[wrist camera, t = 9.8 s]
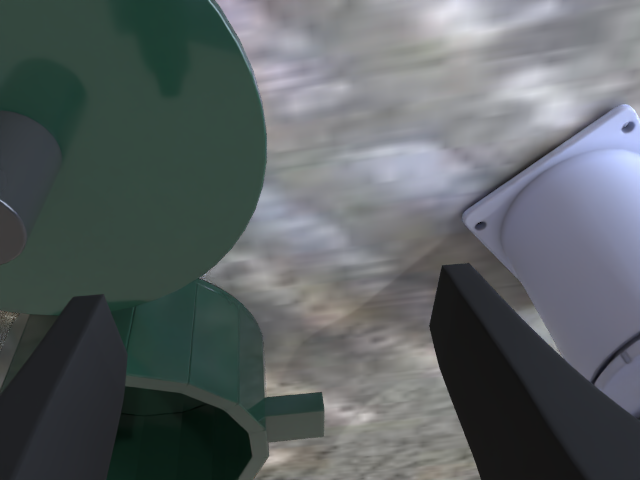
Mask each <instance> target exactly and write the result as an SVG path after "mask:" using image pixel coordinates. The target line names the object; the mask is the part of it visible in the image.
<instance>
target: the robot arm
mask: <svg viewBox="0 0 640 480" xmlns="http://www.w3.org/2000/svg"><path fill="white" fill-rule="evenodd" d="M628 122H629V123H628ZM626 123H628V125H627V126H626V127H624V128H622V127H623V126H624V125H625V124H626ZM462 220H463V222H464V224H465V226H466V227H467V228H468V229H469V230H470V231H471V232H472V233H473V234H474V235H475V236H476V237H477V238H478V239H479V240H480V241H481V242H482V243H483V244H484V245H485V246H486V247H487V248H488V249H489V250H490V251H491V252H492V253H493V254H494V255H495V256H496V257H497V258H498V259H499V260H500V261H501V262H502V263H503V264H504V265H505V267H506V268H507V269H508V270H509V271H510V272H511V273H512V274H513V275H514V276H515V277H516V278H517V279H518V280H519V281H520V282H521V283H522V284H523V286H524V288H525V290H526V292H527V293H528V295H529V297H530V299H531V301H532V302H533V304H534V306H535V308H536V310H537V311H538V313H539V315H540V317H541V319H542V320H543V322H544V324H545V326H546V328H547V329H548V331H549V333H550V335H551V337H552V338H553V340H554V342H555V344H556V346H557V347H558V349H559V351H560V353H561V355H562V356H563V358H564V359H563V358H562V357H561V356H560V355H559V354H558V353H557V352H556V351H555V350H554V349H553V348H551V347H550V346H549V345H548V344H547V343H546V342H545V341H544V340H543V339H542V338H541V337H540V336H539V335H538V334H537V333H536V332H535V331H534V330H533V329H532V328H531V327H530V326H529V325H528V324H527V323H526V322H525V321H524V320H523V319H522V318H521V317H520V316H519V315H518V314H517V313H516V312H515V311H514V310H513V309H512V308H511V307H510V306H509V305H508V304H507V303H506V302H505V301H504V300H503V299H502V297H501V296H500V295H499V294H498V293H497V292H496V291H495V290H494V289H493V288H492V287H491V286H490V285H489V284H488V283H487V281H486V280H485V279H484V278H483V277H482V276H481V275H480V274H479V273H478V272H477V271H476V270H475V269H474V268H473V267H472V266H471V265H470V264H469V263H465V264H454V265H442V268H441V272H440V277H439V282H438V287H437V291H436V296H435V301H434V306H433V310H432V315H431V320H430V325H429V327H430V331H431V336H432V340H433V344H434V348H435V352H436V356H437V360H438V364H439V368H440V370H441V373H442V376H443V379H444V381H445V384H446V387H447V389H448V392H449V395H450V397H451V400H452V402H453V405H454V408H455V410H456V413H457V415H458V418H459V421H460V423H461V426H462V428H463V431H464V434H465V436H466V439H467V441H468V444H469V447H470V449H471V452H472V454H473V457H474V460H475V463H476V466H477V469H478V471H479V474H480V477H481V480H640V119H639V117H638V115H637V114H636V112H635V110H634V109H632V108H631V107H630V106H629V105H625V104H623V105H619V106H617V107H615V108H614V109H612V110H611V111H609V112H608V113H606V114H605V115H603V116H602V117H601V118H599V119H598V120H596V121H595V122H593V123H592V124H590V125H589V126H587V127H586V128H585V129H583V130H582V131H580V132H579V133H577V134H576V135H574V136H573V137H572V138H570V139H569V140H567V141H566V142H564V143H563V144H561V145H560V146H558V147H557V148H556V149H554V150H553V151H551V152H550V153H548V154H547V155H545V156H544V157H542V158H541V159H540V160H538V161H537V162H535V163H534V164H532V165H531V166H529V167H528V168H527V169H525V170H524V171H522V172H521V173H519V174H518V175H516V176H515V177H513V178H512V179H511V180H509V181H508V182H506V183H505V184H503V185H502V186H500V187H499V188H497V189H496V190H495V191H493V192H492V193H490V194H489V195H487V196H486V197H484V198H483V199H482V200H480V201H479V202H477V203H476V204H474V205H473V206H471V207H470V208H468V209H467V210H466V211H465V212H464V213H463V215H462ZM479 222H482V223H481V224H479V225H476V224H477V223H479ZM127 357H128V354H127V351H126V349H125V346H124V344H123V341H122V339H121V336H120V334H119V331H118V329H117V326H116V324H115V321H114V319H113V316H112V314H111V311H110V309H109V306H108V304H107V301H106V299H105V296H104V294H99V295H87V296H76V297H73V298H72V299H71V300H70V301H69V302H68V304H67V305H66V307H65V308H64V309H63V311H62V312H61V314H60V315H59V316H58V318H57V319H56V321H55V322H54V323H53V325H52V326H51V328H50V329H49V330H48V332H47V333H46V335H45V336H44V337H43V339H42V340H41V342H40V343H39V344H38V346H37V347H36V348H35V350H34V351H33V353H32V354H31V355H30V357H29V358H28V359H27V361H26V362H25V363H24V365H23V366H22V367H21V368H20V370H19V371H18V372H17V374H16V375H15V376H14V378H13V379H12V380H11V382H10V383H9V384H8V385H7V387H6V388H5V389H4V391H3V392H2V393H1V394H0V480H106V479H107V474H108V470H109V465H110V461H111V456H112V452H113V447H114V443H115V438H116V434H117V429H118V424H119V420H120V415H121V410H122V405H123V400H124V391H125V381H126V369H127Z"/></svg>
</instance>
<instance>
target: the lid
mask: <svg viewBox="0 0 640 480" xmlns="http://www.w3.org/2000/svg"><path fill="white" fill-rule="evenodd" d="M266 163H267V133H266V124H265V117H264V110H263V104H262V99H261V95H260V92H259V88H258V85H257V82H256V78H255V75H254V71H253V69H252V67H251V64H250V62H249V60H248V58H247V55H246V53H245V51H244V49H243V46H242V44H241V42H240V39H239V38H238V36H237V34H236V33H235V31H234V29H233V28H232V26H231V24H230V23H229V21H228V20H227V18H226V16H225V15H224V13H223V11H222V10H221V8H220V6H219V5H218V4H217V3H216V1H215V0H0V310H1V311H6V312H14V313H23V314H31V315H50V316H59V315H60V314H61V312H62V311H63V309H64V308H65V307H66V305H67V304H68V302H69V301H70V300H71V299H72V298H73V297H76V296H87V295H99V294H104V296H105V299H106V301H107V304H108V306H109V309H110V311H111V312H113V311H118V310H122V309H127V308H131V307H136V306H139V305H142V304H145V303H148V302H151V301H154V300H157V299H160V298H162V297H164V296H167V295H169V294H171V293H173V292H175V291H178V290H180V289H181V288H183V287H185V286H186V285H188V284H190V283H191V282H193V281H195V280H196V279H198V278H200V277H201V276H202V275H203V274H205V273H206V272H207V271H208V270H210V269H211V268H212V267H214V266H215V265H216V264H217V263H218V262H219V261H220V260H221V259H222V258H223V257H224V256H225V255H226V254H227V253H228V252H229V251H230V250H231V249H232V247H233V246H234V244H235V243H236V242H237V240H238V239H239V237H240V236H241V235H242V233H243V232H244V231H245V229H246V227H247V225H248V223H249V221H250V219H251V217H252V215H253V213H254V211H255V209H256V206H257V203H258V200H259V197H260V194H261V191H262V187H263V182H264V175H265V169H266Z"/></svg>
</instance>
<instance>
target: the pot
mask: <svg viewBox="0 0 640 480" xmlns="http://www.w3.org/2000/svg"><path fill="white" fill-rule="evenodd" d="M111 314H112V316H113V319H114V321H115V324H116V326H117V329H118V331H119V334H120V336H121V339H122V341H123V344H124V346H125V349H126V351H127V354H128V357H127V369H126V381H125V391H124V400H123V405H122V410H121V415H120V420H119V424H118V429H117V434H116V438H115V443H114V447H113V452H112V456H111V461H110V465H109V470H108V474H107V479H106V480H253V479H254V478H255V476H256V475H257V473H258V472H259V470H260V469H261V467H262V466H263V464H264V463H265V462H266V460H267V459H268V457H269V442H277V441H287V440H296V439H306V438H316V437H323V436H324V404H323V396H322V392H317V393H307V394H297V395H286V396H276V397H267V393H266V369H265V355H264V342H263V336H262V333H261V330H260V328H259V326H258V323H257V322H256V320H255V319H254V317H253V316H252V314H251V313H250V312H249V311H248V310H247V309H246V308H245V306H244V305H243V304H242V303H240V302H239V301H238V300H237V299H235V298H234V297H233V296H232V295H230V294H228V293H227V292H225V291H224V290H222V289H220V288H219V287H217V286H214V285H212V284H210V283H208V282H206V281H204V280H201V279H196V280H195V281H193V282H191V283H190V284H188V285H186V286H185V287H183V288H181V289H180V290H178V291H175V292H173V293H171V294H169V295H167V296H164V297H162V298H160V299H157V300H154V301H151V302H148V303H145V304H142V305H139V306H136V307H131V308H127V309H122V310H118V311H113V312H111ZM57 318H58V316H50V315H31V314H23V313H19V316H18V317H17V318H16V320H15V321H14V322H13V323H12V325H11V327H10V329H9V332H8V334H7V337H6V339H5V341H4V344H3V346H2V349H1V351H0V394H1V393H2V392H3V391H4V389H5V388H6V387H7V385H8V384H9V383H10V382H11V380H12V379H13V378H14V376H15V375H16V374H17V372H18V371H19V370H20V368H21V367H22V366H23V365H24V363H25V362H26V361H27V359H28V358H29V357H30V355H31V354H32V353H33V351H34V350H35V348H36V347H37V346H38V344H39V343H40V342H41V340H42V339H43V337H44V336H45V335H46V333H47V332H48V330H49V329H50V328H51V326H52V325H53V323H54V322H55V321H56V319H57Z"/></svg>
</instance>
